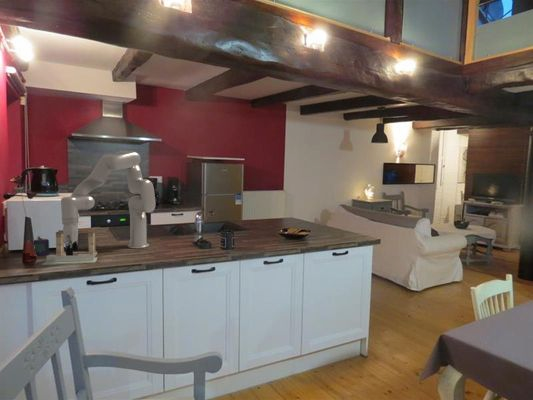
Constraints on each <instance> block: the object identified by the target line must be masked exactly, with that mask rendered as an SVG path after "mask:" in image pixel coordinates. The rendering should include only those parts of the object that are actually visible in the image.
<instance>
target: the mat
mask: <svg viewBox="0 0 533 400" xmlns="http://www.w3.org/2000/svg"><path fill="white" fill-rule="evenodd" d="M97 258H98V257H96V256H95V257H94V260H93V261H66V262H46V260H45V261H44V262H43V263H41V264H42V266H49V265H51V266H53V265H56V266H57V265H80V264H81V265H82V264H83V265H84V263H85V264H95V263H96V261H97V260H98V259H97Z"/></svg>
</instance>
